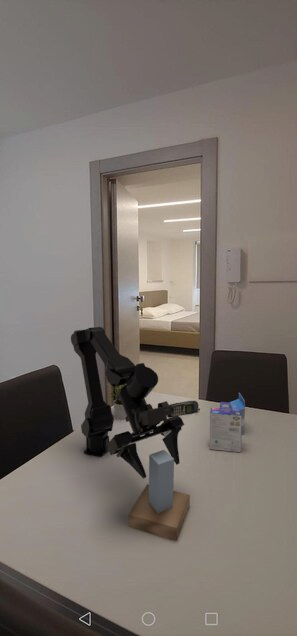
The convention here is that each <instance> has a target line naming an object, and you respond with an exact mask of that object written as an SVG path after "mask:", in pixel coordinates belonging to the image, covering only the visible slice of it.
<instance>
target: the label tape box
mask: <svg viewBox="0 0 297 636" xmlns="http://www.w3.org/2000/svg"><path fill="white" fill-rule="evenodd" d="M245 402H246V401H245V399H244V397H243V396H242V394H241V393H240V392H238V398H237V399H235V400H233V401H229V402H228V403H231V406H232V409H240V410H241V414H242V430H241V436H242V435H244V429H245V414H246V404H245ZM228 407H230V406H229V405H228Z"/></svg>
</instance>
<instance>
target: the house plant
mask: <svg viewBox="0 0 297 636" xmlns="http://www.w3.org/2000/svg"><path fill="white" fill-rule="evenodd" d="M106 385H108V386H109V387H111V385H110V384H109V383H106ZM125 385H127V384H125ZM125 385H121V386H116V387H113V390H114V392H115V393H114V392H111V391H108V393H109V394H110V395H109V396H107V398H111V399H113V408H114V414H115V418H116V419H118V420H126V419H125V418H126V417H127V415H126V413H125V410H124V407H123V405H122V402H121V400H117V395H118V391H119V389H122V387H124V386H125Z"/></svg>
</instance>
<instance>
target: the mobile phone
mask: <svg viewBox="0 0 297 636" xmlns="http://www.w3.org/2000/svg"><path fill="white" fill-rule="evenodd" d="M169 406H170V408H171V415H167V418H171V417H174V416H179V417H180V416H186V415H192V414H195V413H196V412H198V411H200V410H201V408H199V403H198V401H197V400H187V401H183V402H182V401H181V402H175V403H170V404H169Z"/></svg>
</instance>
